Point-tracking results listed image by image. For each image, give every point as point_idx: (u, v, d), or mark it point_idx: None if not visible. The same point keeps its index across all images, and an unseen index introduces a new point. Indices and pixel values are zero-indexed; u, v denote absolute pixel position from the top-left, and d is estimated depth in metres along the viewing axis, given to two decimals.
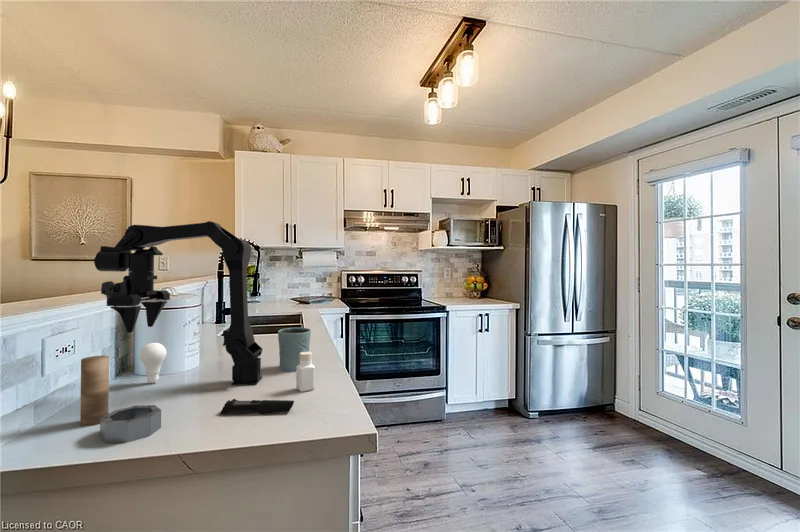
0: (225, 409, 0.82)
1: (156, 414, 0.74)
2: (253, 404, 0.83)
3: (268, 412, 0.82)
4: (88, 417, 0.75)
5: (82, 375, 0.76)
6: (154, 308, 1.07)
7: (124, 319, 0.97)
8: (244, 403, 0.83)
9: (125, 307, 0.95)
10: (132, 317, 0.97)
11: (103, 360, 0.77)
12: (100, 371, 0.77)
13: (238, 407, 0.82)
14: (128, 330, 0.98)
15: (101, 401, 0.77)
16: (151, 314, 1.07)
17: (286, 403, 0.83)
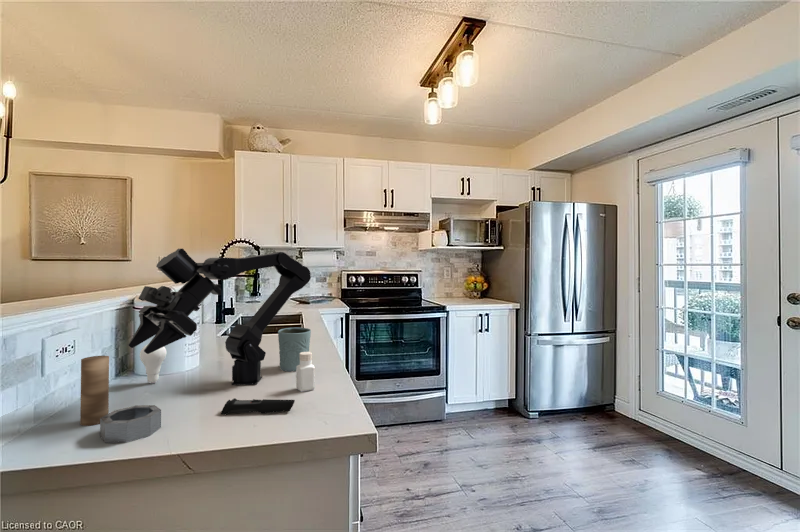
0: (226, 408, 0.82)
1: (156, 414, 0.74)
2: (254, 403, 0.83)
3: (269, 411, 0.82)
4: (88, 417, 0.75)
5: (82, 375, 0.76)
6: (150, 331, 0.90)
7: (158, 338, 0.82)
8: (245, 402, 0.83)
9: (180, 331, 0.83)
10: (168, 341, 0.83)
11: (103, 360, 0.77)
12: (100, 371, 0.77)
13: (239, 406, 0.82)
14: (148, 350, 0.81)
15: (102, 401, 0.77)
16: (143, 335, 0.89)
17: (287, 402, 0.83)
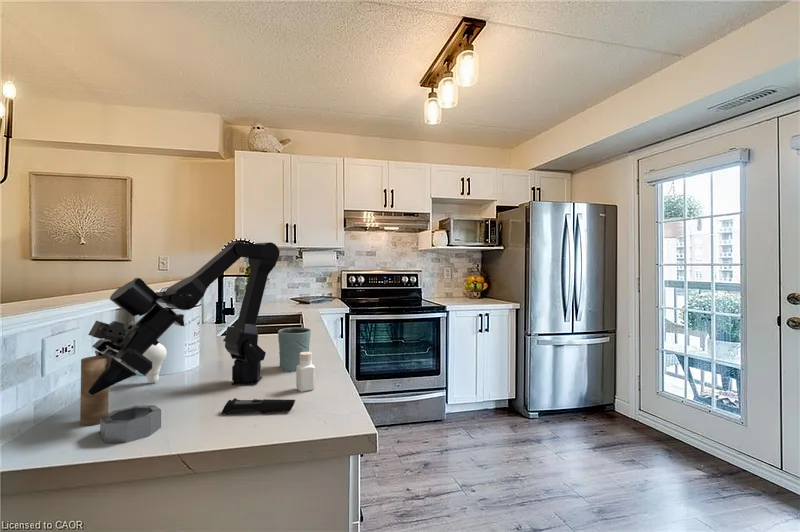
0: (226, 408, 0.82)
1: (156, 414, 0.74)
2: (254, 403, 0.83)
3: (269, 411, 0.82)
4: (88, 417, 0.75)
5: (82, 375, 0.76)
6: None
7: (104, 377, 0.76)
8: (245, 402, 0.83)
9: (128, 369, 0.77)
10: (116, 380, 0.77)
11: (103, 360, 0.77)
12: (100, 371, 0.77)
13: (239, 406, 0.82)
14: (92, 391, 0.75)
15: (101, 401, 0.77)
16: None
17: (287, 402, 0.83)
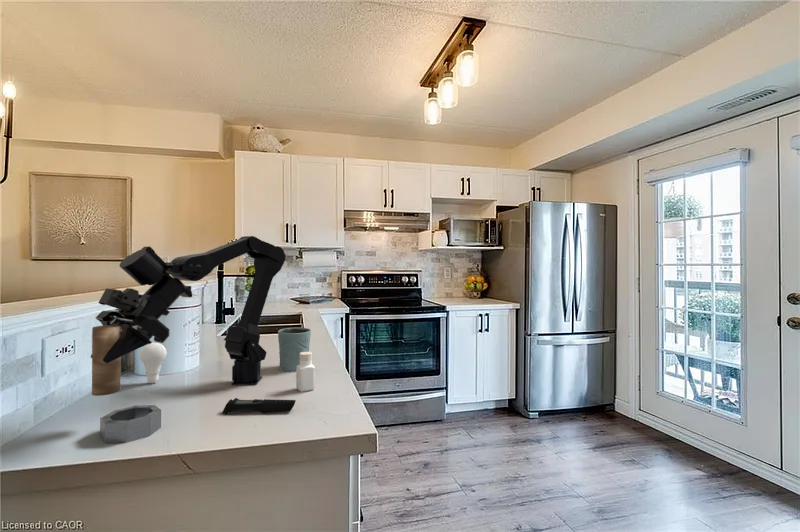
0: (227, 408, 0.82)
1: (156, 414, 0.74)
2: (255, 403, 0.83)
3: (270, 411, 0.82)
4: (102, 386, 0.73)
5: (95, 343, 0.73)
6: None
7: (120, 345, 0.74)
8: (246, 402, 0.83)
9: (144, 337, 0.76)
10: (130, 349, 0.76)
11: (116, 328, 0.75)
12: (114, 339, 0.75)
13: (240, 406, 0.82)
14: (107, 359, 0.73)
15: (115, 370, 0.75)
16: None
17: (288, 402, 0.83)
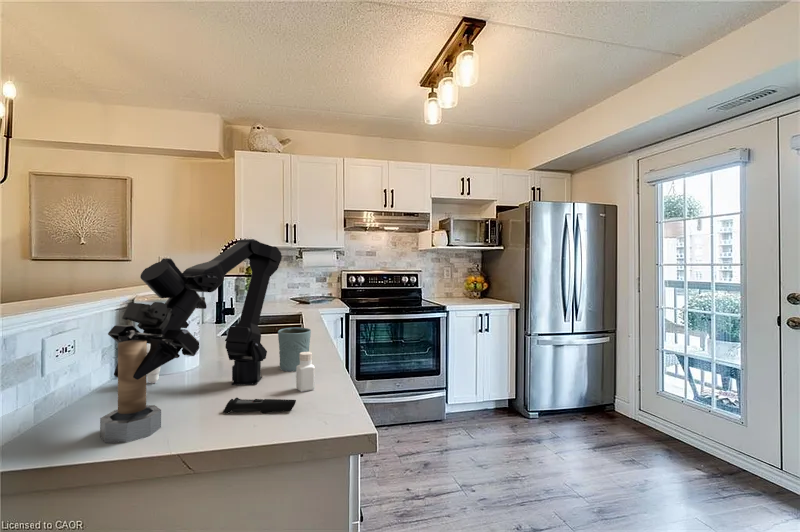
0: (228, 407, 0.82)
1: (156, 414, 0.74)
2: (255, 402, 0.83)
3: (270, 411, 0.83)
4: (131, 404, 0.71)
5: (123, 360, 0.71)
6: None
7: (150, 360, 0.73)
8: (247, 402, 0.84)
9: (174, 351, 0.75)
10: (159, 364, 0.74)
11: (144, 343, 0.73)
12: (143, 355, 0.73)
13: (241, 406, 0.83)
14: (138, 375, 0.71)
15: (143, 386, 0.73)
16: None
17: (288, 402, 0.84)
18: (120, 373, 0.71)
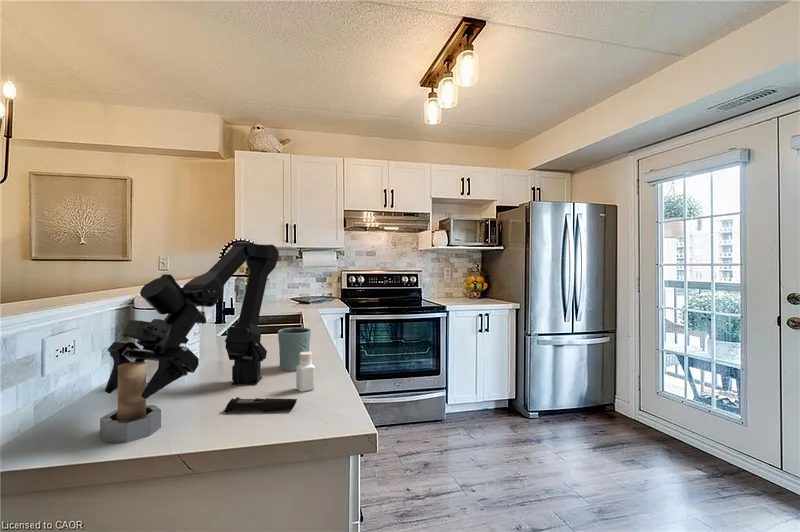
0: (229, 407, 0.83)
1: (156, 414, 0.74)
2: (256, 402, 0.84)
3: (271, 410, 0.83)
4: None
5: (123, 383, 0.71)
6: None
7: (158, 379, 0.72)
8: (247, 401, 0.84)
9: (182, 369, 0.75)
10: (167, 382, 0.74)
11: (144, 366, 0.73)
12: (142, 377, 0.73)
13: (242, 405, 0.83)
14: (146, 394, 0.71)
15: (143, 408, 0.73)
16: None
17: (289, 401, 0.84)
18: (120, 396, 0.71)
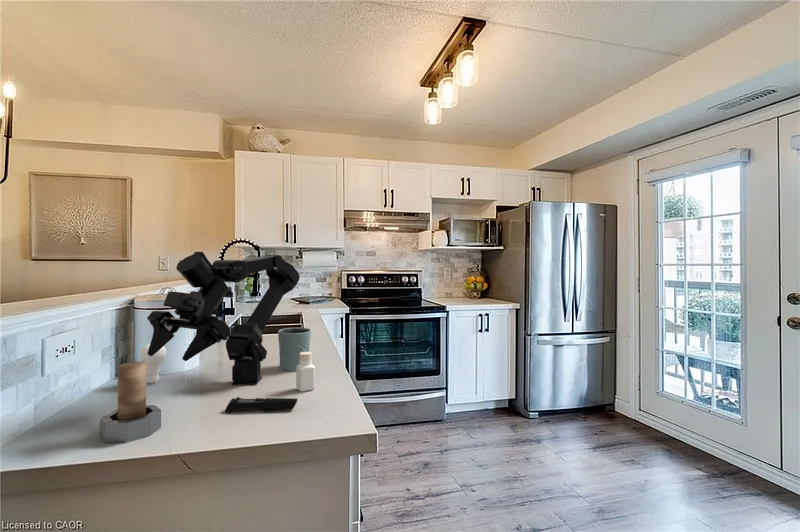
0: (230, 407, 0.83)
1: (156, 414, 0.74)
2: (257, 402, 0.84)
3: (272, 410, 0.83)
4: None
5: (123, 383, 0.71)
6: (165, 337, 0.86)
7: (196, 344, 0.81)
8: (248, 401, 0.84)
9: (216, 336, 0.84)
10: (203, 347, 0.83)
11: (144, 366, 0.73)
12: (142, 377, 0.73)
13: (242, 405, 0.83)
14: (186, 357, 0.80)
15: (143, 408, 0.73)
16: (159, 342, 0.84)
17: (290, 401, 0.84)
18: (120, 396, 0.71)
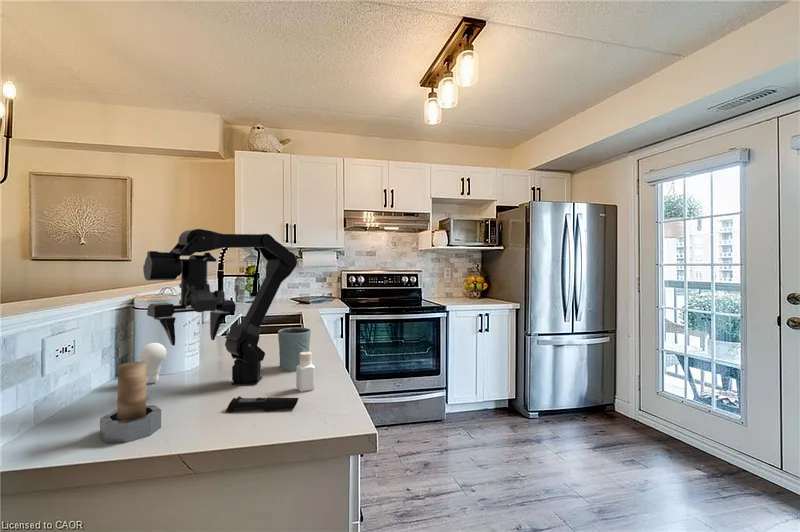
0: (231, 406, 0.83)
1: (156, 414, 0.74)
2: (258, 401, 0.84)
3: (273, 409, 0.84)
4: None
5: (123, 383, 0.71)
6: None
7: None
8: (249, 400, 0.85)
9: None
10: None
11: (144, 365, 0.73)
12: (142, 377, 0.73)
13: (244, 404, 0.84)
14: None
15: (143, 408, 0.73)
16: None
17: (291, 400, 0.85)
18: (120, 396, 0.71)
